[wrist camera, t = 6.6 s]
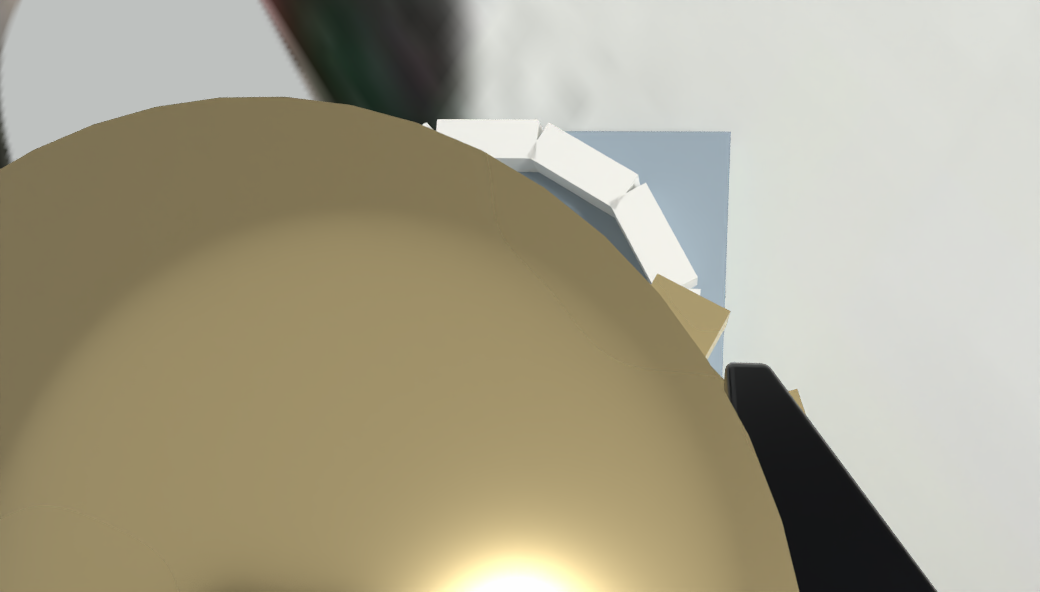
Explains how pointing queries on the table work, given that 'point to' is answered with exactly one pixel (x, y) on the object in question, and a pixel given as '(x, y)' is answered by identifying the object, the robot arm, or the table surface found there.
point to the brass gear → (350, 373)
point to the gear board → (629, 192)
